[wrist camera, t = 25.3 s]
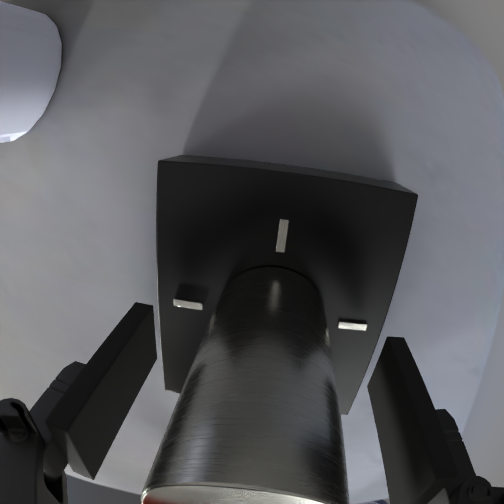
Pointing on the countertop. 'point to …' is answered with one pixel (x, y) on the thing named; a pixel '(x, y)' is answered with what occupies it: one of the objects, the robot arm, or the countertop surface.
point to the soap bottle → (26, 68)
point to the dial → (257, 404)
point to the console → (277, 250)
